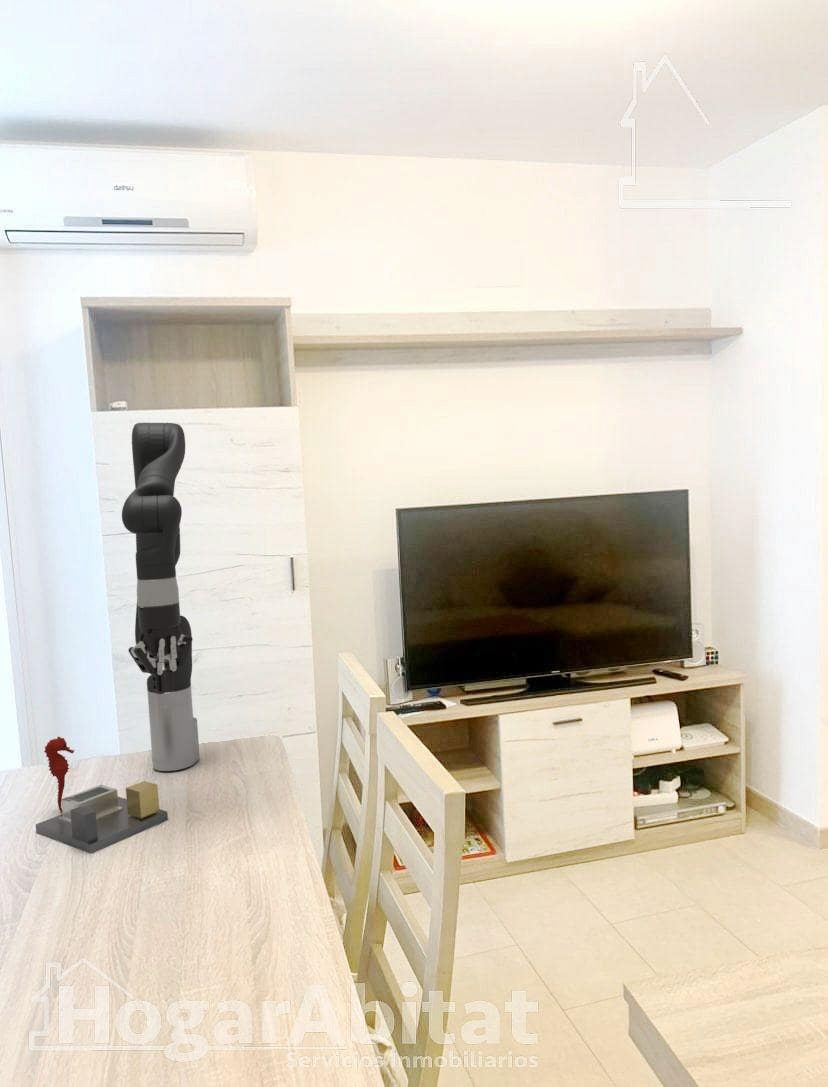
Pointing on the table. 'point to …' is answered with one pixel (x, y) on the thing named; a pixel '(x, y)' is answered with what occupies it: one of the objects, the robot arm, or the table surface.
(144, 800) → the slider
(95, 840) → the press frame
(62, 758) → the toy
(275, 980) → the table surface
